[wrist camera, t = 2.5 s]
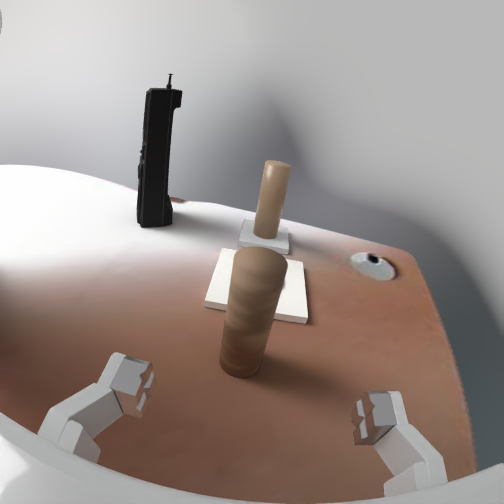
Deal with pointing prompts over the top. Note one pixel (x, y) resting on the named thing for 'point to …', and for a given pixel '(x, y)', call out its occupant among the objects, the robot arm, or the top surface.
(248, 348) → the walnut pin
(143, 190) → the portable radio
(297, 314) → the plate
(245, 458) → the top surface
